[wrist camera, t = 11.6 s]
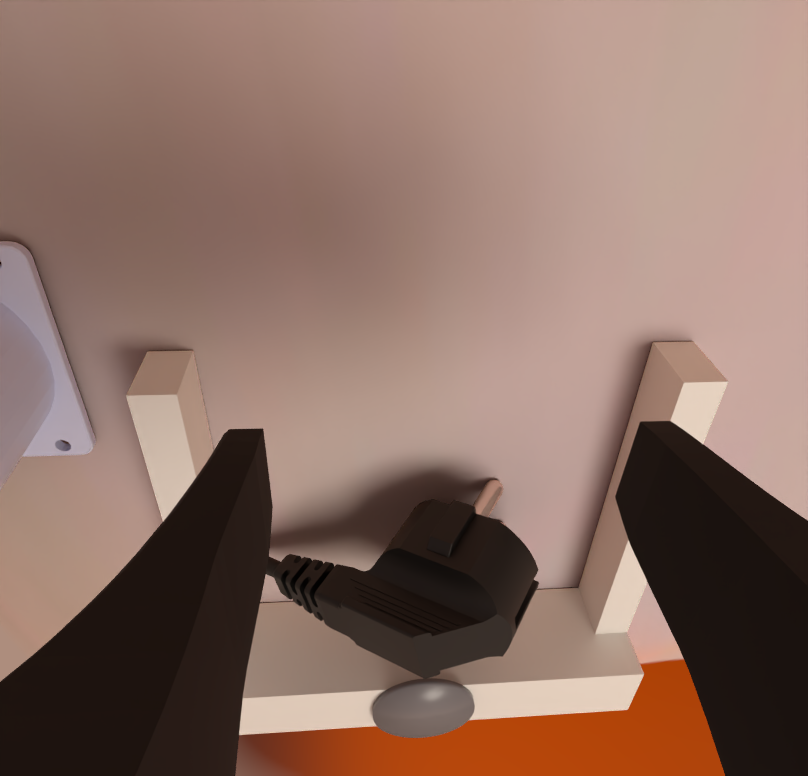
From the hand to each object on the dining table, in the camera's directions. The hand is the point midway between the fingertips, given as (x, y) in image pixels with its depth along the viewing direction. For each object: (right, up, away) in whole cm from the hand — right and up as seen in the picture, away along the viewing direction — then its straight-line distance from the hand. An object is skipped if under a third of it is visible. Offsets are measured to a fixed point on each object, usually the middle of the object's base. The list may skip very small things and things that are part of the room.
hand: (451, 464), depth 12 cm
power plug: (-2, -4, +15) cm, 16 cm away
